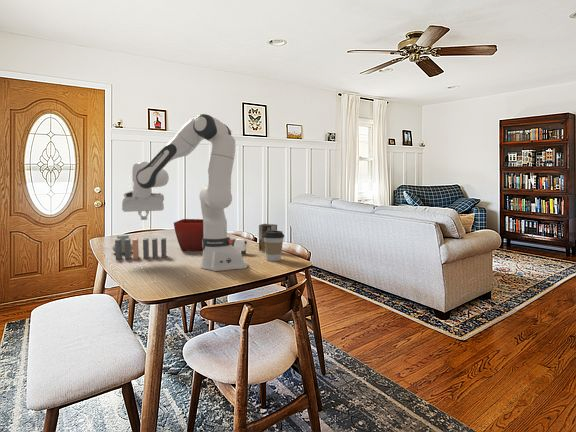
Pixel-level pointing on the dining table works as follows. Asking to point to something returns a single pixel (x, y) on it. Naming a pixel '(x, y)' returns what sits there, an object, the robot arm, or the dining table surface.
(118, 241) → the domino
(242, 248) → the giant panda
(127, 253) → the domino
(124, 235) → the air freshener
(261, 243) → the coffee box
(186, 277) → the dining table surface
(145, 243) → the domino
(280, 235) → the coffee cup
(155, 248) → the domino
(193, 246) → the plant pot
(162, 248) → the domino
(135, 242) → the domino
